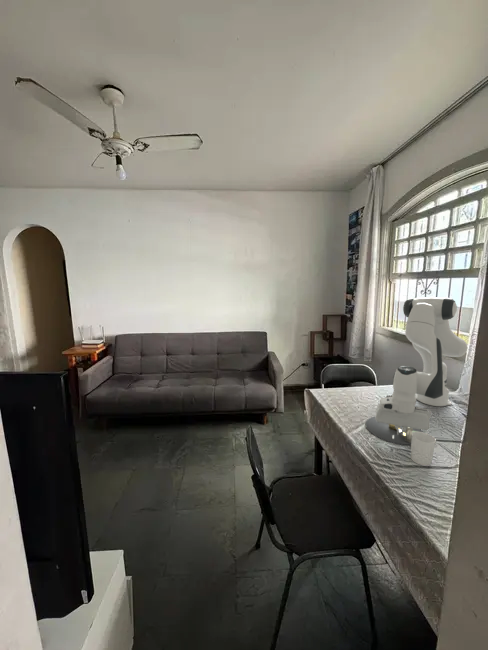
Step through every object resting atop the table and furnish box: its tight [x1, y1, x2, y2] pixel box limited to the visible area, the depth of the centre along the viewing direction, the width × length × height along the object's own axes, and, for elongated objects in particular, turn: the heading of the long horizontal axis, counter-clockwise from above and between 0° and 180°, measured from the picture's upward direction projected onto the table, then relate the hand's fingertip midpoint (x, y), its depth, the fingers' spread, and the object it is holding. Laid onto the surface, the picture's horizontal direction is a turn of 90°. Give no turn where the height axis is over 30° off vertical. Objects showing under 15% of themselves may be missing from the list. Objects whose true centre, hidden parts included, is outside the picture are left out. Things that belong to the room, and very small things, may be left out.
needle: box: [389, 424, 413, 443], centre depth 126 cm, size 14×4×6 cm, turn 1°
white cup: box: [410, 431, 437, 467], centre depth 109 cm, size 8×8×10 cm
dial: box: [365, 416, 423, 446], centre depth 132 cm, size 24×24×1 cm
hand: (399, 434), depth 121 cm, fingers closed
